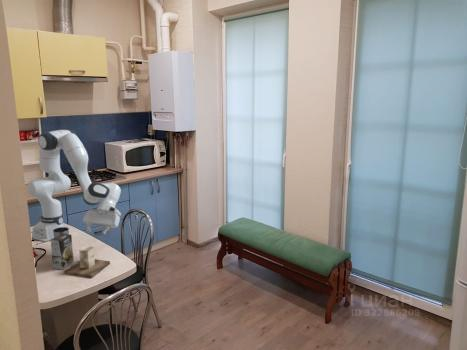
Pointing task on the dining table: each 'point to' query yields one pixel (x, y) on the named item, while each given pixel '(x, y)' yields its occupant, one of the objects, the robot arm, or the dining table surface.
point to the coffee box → (62, 251)
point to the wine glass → (60, 231)
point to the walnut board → (86, 272)
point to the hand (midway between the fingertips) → (96, 232)
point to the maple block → (87, 257)
